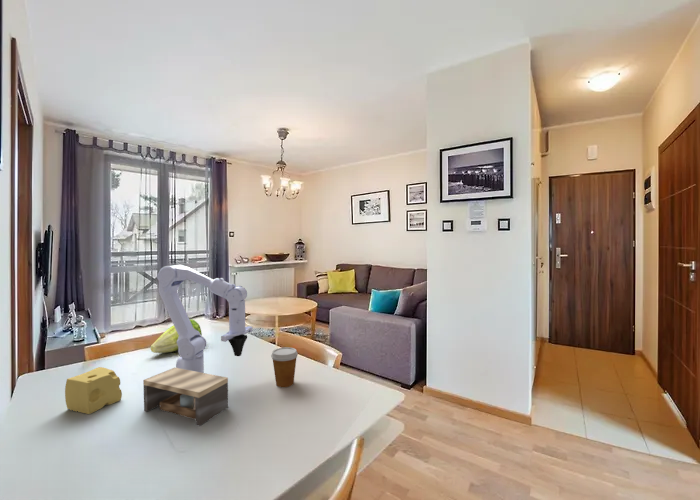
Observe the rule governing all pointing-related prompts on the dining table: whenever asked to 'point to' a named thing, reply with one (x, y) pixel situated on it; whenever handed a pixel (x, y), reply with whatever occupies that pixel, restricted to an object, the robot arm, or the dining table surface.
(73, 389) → the cheese
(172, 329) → the lettuce
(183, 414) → the tray
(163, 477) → the dining table surface
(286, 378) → the disposable coffee cup
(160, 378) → the counter shelf
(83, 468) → the dining table surface
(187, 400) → the pale blue capsule
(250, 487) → the dining table surface
